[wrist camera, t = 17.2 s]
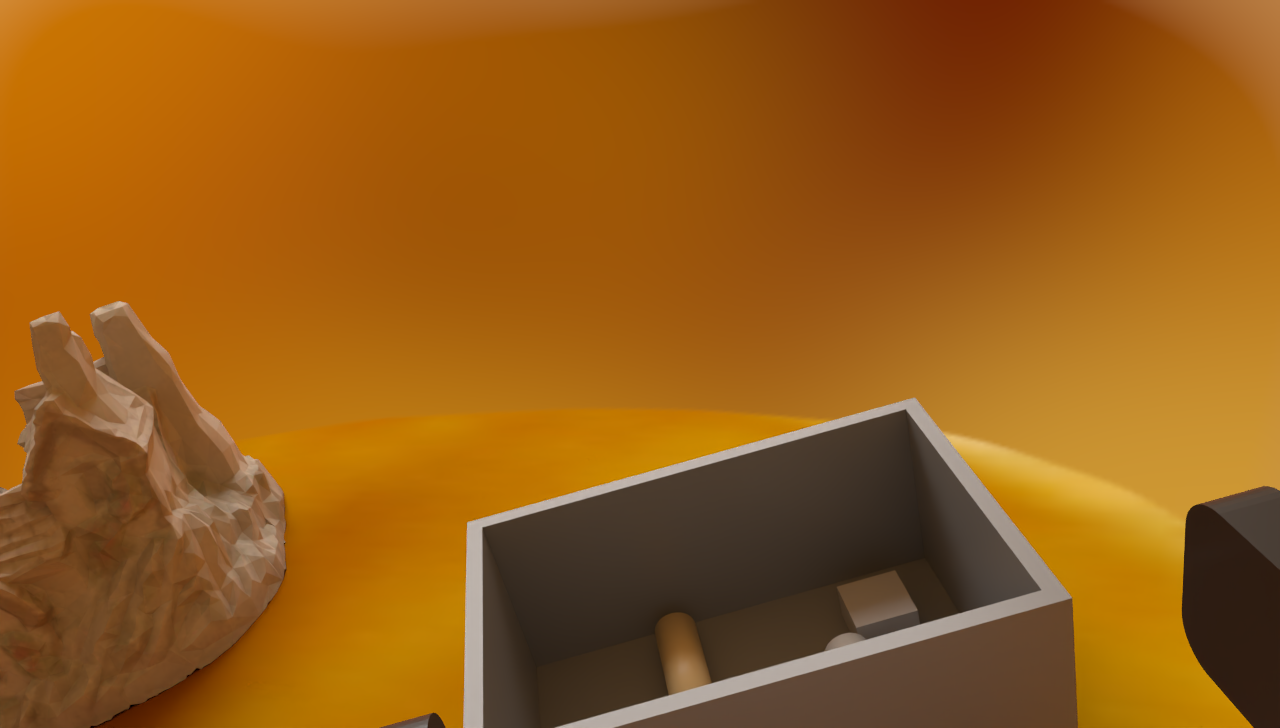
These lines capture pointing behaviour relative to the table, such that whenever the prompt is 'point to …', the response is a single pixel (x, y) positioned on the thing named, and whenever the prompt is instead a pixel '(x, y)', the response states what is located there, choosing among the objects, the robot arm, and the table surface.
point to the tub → (771, 595)
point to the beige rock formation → (124, 531)
